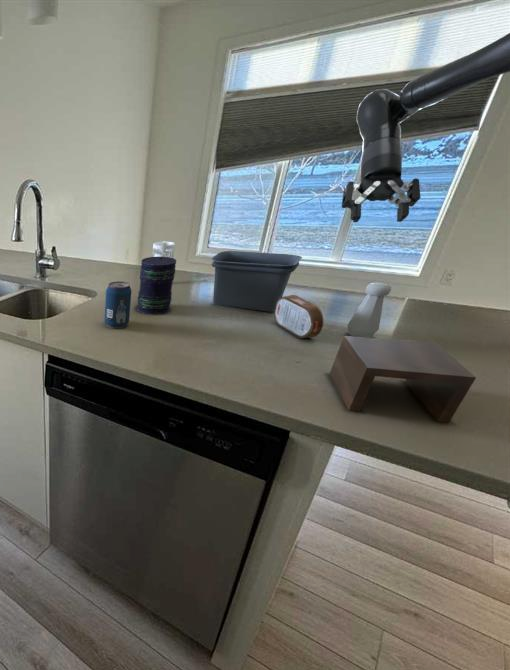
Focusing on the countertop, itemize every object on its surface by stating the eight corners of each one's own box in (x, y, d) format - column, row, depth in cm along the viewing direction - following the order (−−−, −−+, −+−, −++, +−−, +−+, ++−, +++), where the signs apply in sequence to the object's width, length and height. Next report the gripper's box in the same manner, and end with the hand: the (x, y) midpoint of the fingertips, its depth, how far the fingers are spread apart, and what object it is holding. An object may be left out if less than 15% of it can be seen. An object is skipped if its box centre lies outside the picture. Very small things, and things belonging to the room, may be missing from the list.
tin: (318, 342, 98) (329, 309, 93) (305, 343, 98) (316, 311, 94) (280, 320, 111) (288, 290, 106) (268, 321, 111) (276, 291, 107)
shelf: (414, 382, 80) (435, 341, 75) (449, 422, 69) (476, 377, 65) (329, 374, 85) (343, 335, 81) (348, 410, 74) (367, 367, 70)
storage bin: (200, 305, 125) (208, 259, 117) (215, 291, 134) (224, 247, 127) (280, 317, 112) (295, 266, 105) (291, 301, 122) (305, 253, 115)
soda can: (114, 318, 122) (117, 279, 116) (133, 324, 117) (137, 283, 111) (99, 325, 118) (100, 285, 112) (118, 331, 113) (121, 289, 107)
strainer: (149, 285, 146) (153, 242, 138) (149, 279, 152) (153, 238, 144) (170, 285, 144) (175, 242, 136) (169, 279, 149) (174, 237, 142)
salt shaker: (369, 342, 96) (392, 289, 89) (340, 336, 100) (360, 284, 93) (378, 335, 98) (400, 283, 92) (349, 329, 102) (369, 278, 96)
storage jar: (166, 316, 120) (172, 265, 112) (132, 312, 125) (137, 263, 117) (173, 305, 127) (179, 257, 119) (141, 302, 132) (145, 255, 124)
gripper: (352, 154, 100) (349, 211, 96) (427, 149, 94) (427, 209, 91) (339, 176, 106) (336, 229, 103) (408, 172, 101) (407, 229, 98)
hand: (378, 220), depth 97 cm, fingers open, 8 cm apart
